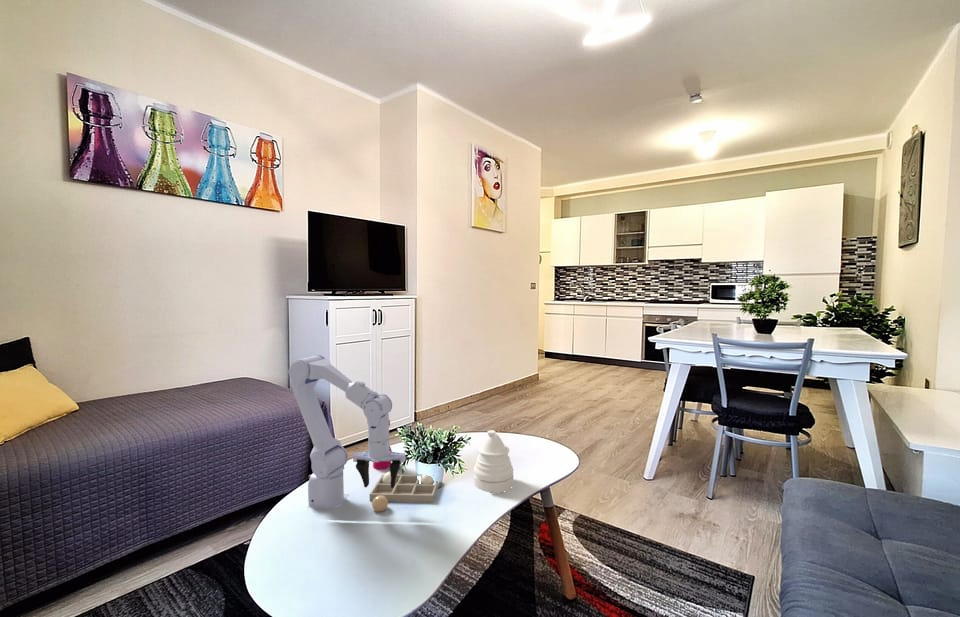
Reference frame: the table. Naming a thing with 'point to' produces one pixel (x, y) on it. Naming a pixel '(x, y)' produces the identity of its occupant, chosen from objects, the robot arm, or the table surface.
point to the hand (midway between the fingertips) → (379, 486)
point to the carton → (405, 490)
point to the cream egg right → (427, 480)
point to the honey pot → (493, 466)
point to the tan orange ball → (380, 503)
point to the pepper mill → (382, 462)
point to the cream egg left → (387, 478)
